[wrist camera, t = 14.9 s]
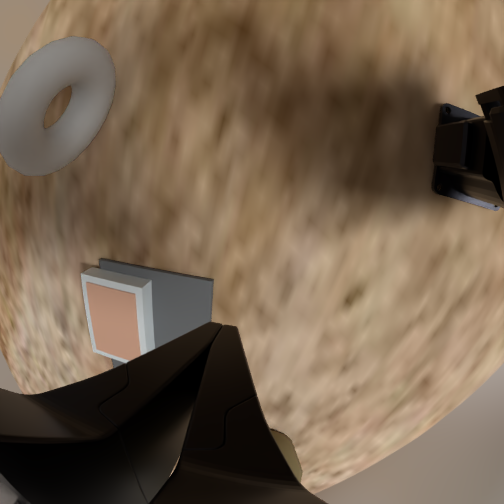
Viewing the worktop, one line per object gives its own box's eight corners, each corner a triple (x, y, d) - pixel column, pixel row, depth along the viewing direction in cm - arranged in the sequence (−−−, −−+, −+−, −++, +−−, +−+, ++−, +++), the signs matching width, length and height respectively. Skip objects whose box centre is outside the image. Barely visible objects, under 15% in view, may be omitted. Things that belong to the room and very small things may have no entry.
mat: (213, 279, 22) (212, 281, 22) (207, 407, 26) (206, 410, 26) (101, 258, 23) (99, 259, 23) (118, 381, 28) (117, 383, 27)
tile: (148, 371, 23) (92, 352, 24) (155, 359, 25) (101, 343, 26) (141, 288, 21) (79, 274, 21) (151, 279, 22) (91, 267, 23)
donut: (90, 177, 21) (-7, 197, 12) (65, 159, 21) (-29, 172, 12) (146, 63, 18) (56, 22, 8) (115, 51, 18) (27, 16, 8)
